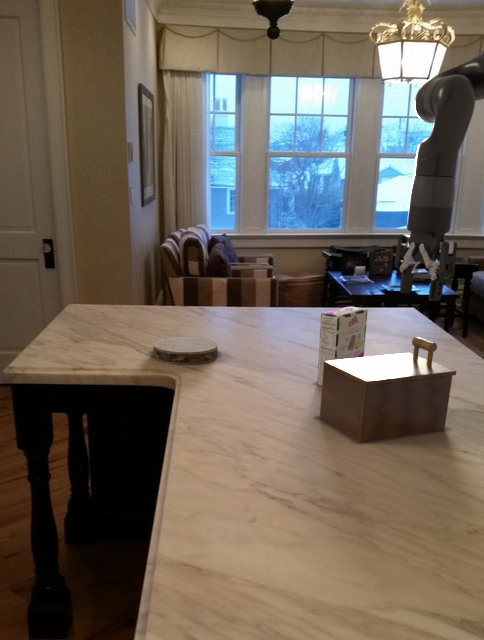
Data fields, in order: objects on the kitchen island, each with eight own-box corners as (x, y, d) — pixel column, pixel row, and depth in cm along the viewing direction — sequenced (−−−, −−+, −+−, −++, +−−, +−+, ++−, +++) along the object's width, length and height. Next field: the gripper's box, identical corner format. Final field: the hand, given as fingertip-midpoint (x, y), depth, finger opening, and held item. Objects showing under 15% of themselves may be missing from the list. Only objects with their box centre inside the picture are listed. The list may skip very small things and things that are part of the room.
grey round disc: (156, 365, 167) (156, 353, 165) (150, 348, 181) (150, 337, 180) (222, 363, 170) (223, 351, 169) (211, 347, 184) (211, 336, 183)
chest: (398, 409, 141) (405, 357, 137) (444, 432, 130) (452, 375, 126) (319, 420, 134) (323, 365, 130) (359, 445, 122) (366, 386, 118)
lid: (408, 356, 138) (411, 330, 136) (456, 375, 126) (460, 347, 124) (323, 365, 130) (325, 338, 128) (366, 385, 118) (369, 356, 117)
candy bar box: (343, 377, 162) (350, 305, 156) (362, 381, 159) (369, 309, 153) (314, 386, 154) (320, 312, 148) (333, 391, 151) (340, 315, 145)
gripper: (475, 206, 119) (461, 302, 125) (423, 201, 131) (412, 289, 137) (439, 206, 116) (426, 304, 122) (389, 201, 128) (380, 291, 134)
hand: (419, 296), depth 130 cm, fingers open, 8 cm apart
